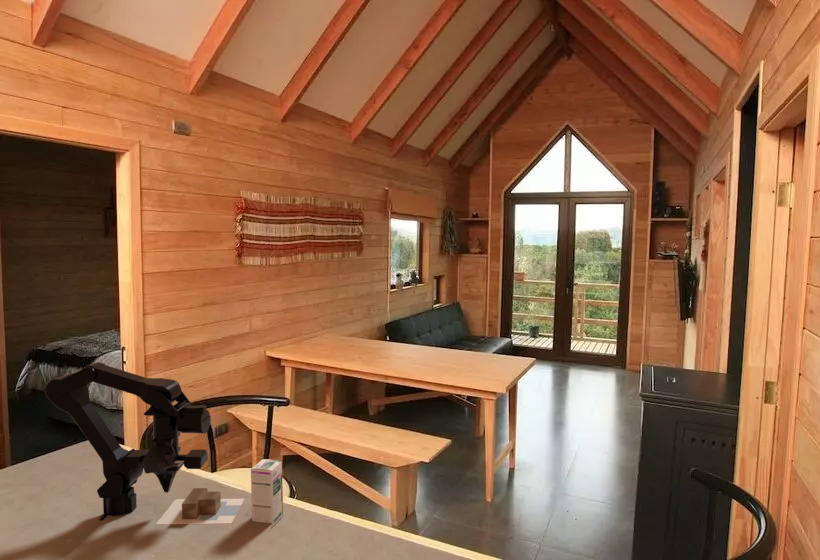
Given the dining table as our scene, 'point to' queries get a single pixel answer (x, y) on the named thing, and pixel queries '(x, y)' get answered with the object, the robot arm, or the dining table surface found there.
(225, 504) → the board
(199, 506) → the walnut T block
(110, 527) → the dining table surface
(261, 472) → the syrup box
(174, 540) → the dining table surface
